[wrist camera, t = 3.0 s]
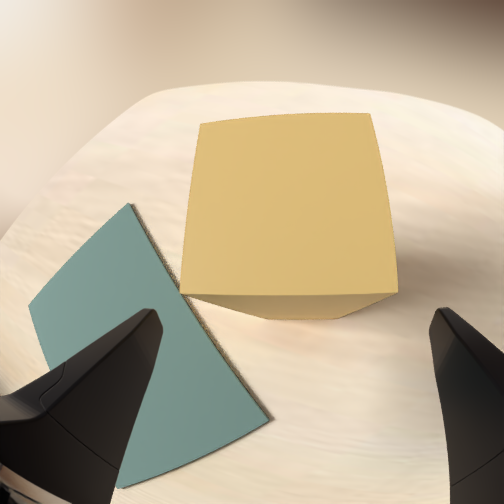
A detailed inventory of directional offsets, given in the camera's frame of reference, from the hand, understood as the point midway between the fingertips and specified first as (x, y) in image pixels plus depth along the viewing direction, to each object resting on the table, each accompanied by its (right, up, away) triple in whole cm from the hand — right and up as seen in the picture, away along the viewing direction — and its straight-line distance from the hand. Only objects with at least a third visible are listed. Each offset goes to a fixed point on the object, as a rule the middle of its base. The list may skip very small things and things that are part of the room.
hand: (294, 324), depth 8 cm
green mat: (-12, -6, +11) cm, 18 cm away
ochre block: (+2, 0, +10) cm, 10 cm away
